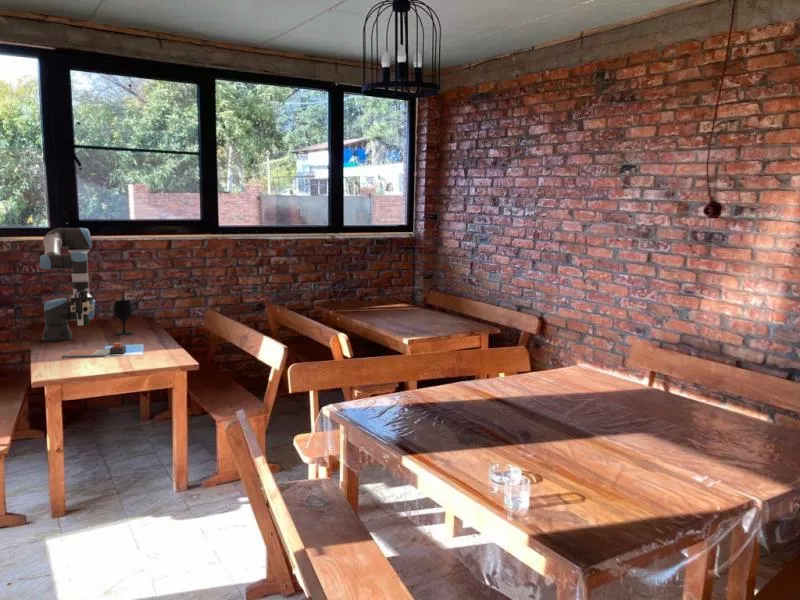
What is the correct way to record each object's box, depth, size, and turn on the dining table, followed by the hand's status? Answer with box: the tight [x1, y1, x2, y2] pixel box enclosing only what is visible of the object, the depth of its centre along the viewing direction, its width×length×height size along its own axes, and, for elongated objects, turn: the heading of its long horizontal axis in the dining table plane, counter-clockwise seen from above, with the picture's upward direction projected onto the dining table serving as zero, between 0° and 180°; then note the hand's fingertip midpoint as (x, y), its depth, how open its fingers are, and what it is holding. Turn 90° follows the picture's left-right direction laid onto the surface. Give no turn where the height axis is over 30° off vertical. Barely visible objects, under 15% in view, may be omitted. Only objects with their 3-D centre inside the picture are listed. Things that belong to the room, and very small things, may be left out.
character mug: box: [71, 301, 94, 327], centre depth 339 cm, size 11×7×13 cm, turn 117°
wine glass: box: [113, 300, 134, 336], centre depth 389 cm, size 10×10×20 cm
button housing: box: [109, 345, 127, 355], centre depth 341 cm, size 6×6×4 cm
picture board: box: [61, 348, 110, 359], centre depth 339 cm, size 15×22×1 cm
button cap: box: [112, 342, 123, 348], centre depth 341 cm, size 3×3×3 cm
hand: (82, 323), depth 339 cm, fingers closed on character mug, 7 cm apart
